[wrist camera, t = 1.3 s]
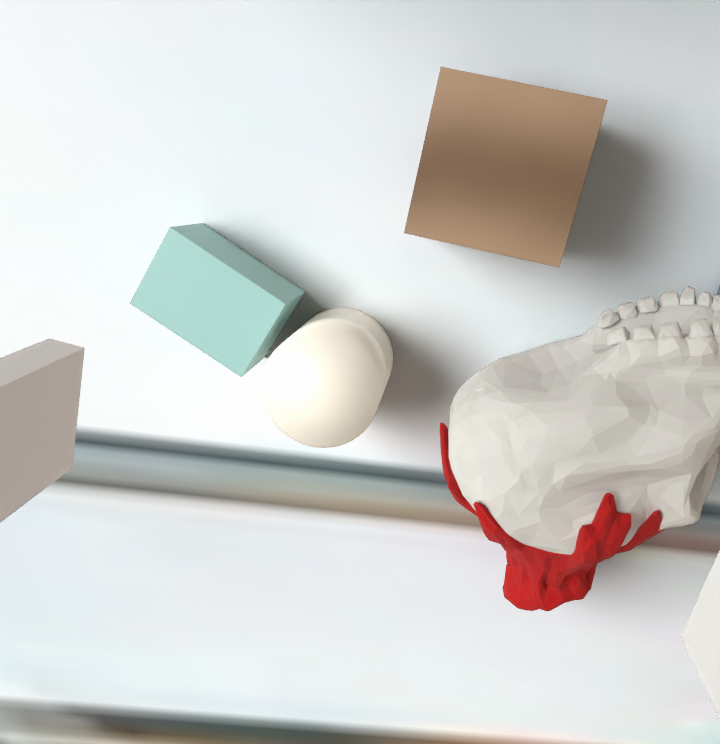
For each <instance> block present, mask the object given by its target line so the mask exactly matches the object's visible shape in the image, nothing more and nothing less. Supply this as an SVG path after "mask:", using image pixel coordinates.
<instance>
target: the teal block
mask: <svg viewBox="0 0 720 744" xmlns="http://www.w3.org/2000/svg"><path fill="white" fill-rule="evenodd" d="M304 293H305V291H304V290H302V289H301V288H299V287H298V286H296V285H295V284H293V283H292V282H290V281H289V280H287V279H286V278H284V277H283V276H281V275H280V274H278V273H277V272H275V271H274V270H272V269H271V268H269V267H268V266H266V265H265V264H263V263H262V262H260V261H258V260H257V259H255V258H254V257H252V256H251V255H249V254H248V253H246V252H245V251H243V250H242V249H240V248H239V247H237V246H236V245H234V244H233V243H231V242H230V241H228V240H227V239H225V238H224V237H222V236H221V235H219V234H218V233H216V232H215V231H213V230H212V229H210V228H209V227H207V226H206V225H204V224H203V223H201V224H193V225H185V226H177V227H170V228H169V230H168V232H167V234H166V236H165V238H164V240H163V242H162V243H161V245H160V247H159V249H158V251H157V253H156V255H155V257H154V259H153V260H152V262H151V264H150V266H149V268H148V270H147V272H146V274H145V276H144V277H143V279H142V281H141V283H140V285H139V287H138V289H137V291H136V292H135V294H134V296H133V298H132V300H131V302H130V304H132V305H133V306H135V307H136V308H138V309H139V310H141V311H142V312H144V313H145V314H147V315H148V316H150V317H151V318H153V319H154V320H156V321H157V322H159V323H160V324H162V325H163V326H165V327H166V328H168V329H169V330H171V331H172V332H174V333H176V334H177V335H179V336H180V337H182V338H183V339H185V340H186V341H188V342H189V343H191V344H192V345H194V346H195V347H197V348H198V349H200V350H201V351H203V352H204V353H206V354H207V355H209V356H210V357H212V358H213V359H215V360H216V361H218V362H219V363H221V364H222V365H224V366H225V367H227V368H228V369H230V370H231V371H233V372H234V373H236V374H238V375H239V376H241V377H242V376H243V375H244V374H245V373H247V372H248V371H249V370H250V369H251V368H252V367H254V366H255V365H256V364H257V363H258V362H260V361H261V360H262V359H263V358H264V357H265V356H266V355H267V353H268V351H269V350H270V348H271V346H272V345H273V343H274V342H275V340H276V338H277V337H278V335H279V333H280V332H281V330H282V329H283V327H284V325H285V324H286V322H287V321H288V319H289V317H290V316H291V314H292V312H293V311H294V309H295V308H296V306H297V304H298V303H299V301H300V300H301V298H302V296H303V295H304Z"/></svg>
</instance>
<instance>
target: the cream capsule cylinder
mask: <svg viewBox="0 0 720 744" xmlns="http://www.w3.org/2000/svg"><path fill="white" fill-rule="evenodd" d="M392 366H393V350H392V346H391V342H390V340H389V337H388V335H387V334H386V332H385V330H384V329H383V328H382V326H381V325H380V324H379V323H378V322H377V321H376V320H374V319H373V318H372V317H370V316H369V315H367V314H366V313H363V312H361V311H358V310H355V309H351V308H333V309H328V310H325V311H323V312H320V313H319V314H317V315H315V316H314V317H312V318H311V319H310V320H309V321H308V322H306V323H305V324H304V325H303V326H302V327H300V328H299V329H298V330H297V331H296V332H295V333H293V334H292V335H291V336H290V337H289V338H288V339H286V340H285V341H284V342H283V343H282V344H280V345H279V346H278V347H277V348H276V349H275V350H274V352H273V353H272V354H271V355H270V357H269V359H268V360H267V362H266V365H265V367H264V370H263V374H262V379H261V394H262V400H263V403H264V406H265V409H266V411H267V413H268V415H269V417H270V418H271V420H272V421H273V423H274V424H275V425H276V426H277V427H278V428H279V429H280V430H281V431H282V432H283V433H284V434H285V435H287V436H288V437H290V438H291V439H293V440H295V441H297V442H299V443H301V444H304V445H307V446H312V447H320V448H327V447H335V446H340V445H343V444H346V443H348V442H350V441H352V440H353V439H355V438H356V437H358V436H359V435H360V434H361V433H363V432H364V431H365V430H366V428H367V427H368V426H369V425H370V423H371V422H372V420H373V418H374V416H375V414H376V411H377V409H378V406H379V403H380V401H381V398H382V396H383V393H384V390H385V388H386V385H387V382H388V380H389V377H390V374H391V371H392Z"/></svg>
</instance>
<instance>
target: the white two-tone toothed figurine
mask: <svg viewBox="0 0 720 744" xmlns="http://www.w3.org/2000/svg"><path fill="white" fill-rule="evenodd" d="M440 441H441V455H442V465H443V471H444V475H445V479H446V481H447V484H448V488H449V490H450V492H451V493H452V495H453V497H454V498H455V500H456V501H457V502H458V503H459V504H461V505H462V506H464V507H465V508H466V509H468V510H469V511H471V512H472V513H473V514H475V515H476V516H478V518H479V521H480V524H481V526H482V529H483V532H484V534H485V535H486V537H487V538H488V540H490V541H493V542H496V543H499V544H501V545H502V547H503V548H504V550H505V551H506V558H507V563H508V564H507V565H506V572H505V580H504V585H503V592H504V597H505V598H506V599H507V600H509V601H510V602H511V603H512V604H513V605H515V606H516V607H517V608H519V609H523V610H530V611H534V610H537V609H542V610H545V611H550V610H552V609H554V608H556V607H558V606H559V605H561V604H563V603H565V602H569V601H573V600H580V599H583V598H584V597H585V595H586V594H587V593H588V591H589V590H590V589H591V585H592V581H593V577H594V573H595V569H596V565H597V563H599V562H601V561H603V560H604V559H608V558H610V557H612V556H614V555H615V554H616V553H621V552H625V551H629V550H631V549H632V548H634V547H635V546H637V545H639V544H641V543H642V542H644V541H646V540H647V539H649V538H651V537H653V536H654V535H656V534H658V533H660V532H661V531H663V530H664V529H665V528H671V527H680V526H685V525H689V524H693V523H695V522H697V521H698V520H699V519H700V514H701V510H702V506H703V504H704V502H705V500H706V498H707V496H708V494H709V492H710V490H711V487H712V484H713V481H714V478H715V474H716V470H717V465H718V460H719V453H718V451H717V448H718V447H719V446H720V295H714V298H713V299H712V296H711V294H710V293H708V292H702V293H701V294H700V296H699V299H698V303H697V304H696V298H695V289H694V288H692V287H690V286H688V287H686V288H685V289H684V290H683V291H682V293H681V297H680V301H679V298H678V293H676V292H672V291H667V292H665V293H664V294H663V295H661V298H660V300H659V303H658V305H657V303H656V301H655V299H654V298H652V297H648V298H643V299H640V300H639V301H638V302H637V303H636V308H635V306H634V304H633V303H631V302H627V303H624V304H621V305H620V306H619V307H618V308H617V309H616V311H615V312H614V311H613V310H612V309H608V310H605V311H604V312H603V313H602V314H601V315H599V316H598V319H597V322H596V325H595V326H593V327H592V328H591V329H590V330H588V331H587V332H586V333H585V334H583V335H581V336H577V337H573V338H569V339H565V340H561V341H557V342H553V343H549V344H546V345H543V346H540V347H537V348H534V349H531V350H527V351H524V352H520V353H517V354H513V355H510V356H506V357H503V358H499V359H498V360H496V361H495V362H493V363H491V364H490V365H488V366H487V367H485V368H484V369H482V370H480V371H479V372H477V373H476V374H474V375H473V376H472V377H471V378H469V379H468V380H467V381H466V382H465V383H463V384H462V385H461V386H460V388H459V389H458V391H457V393H456V394H455V396H454V398H453V400H452V403H451V406H450V422H449V431H448V428H447V427H446V425H445V424H444V423H440Z"/></svg>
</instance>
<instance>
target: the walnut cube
mask: <svg viewBox="0 0 720 744" xmlns="http://www.w3.org/2000/svg"><path fill="white" fill-rule="evenodd" d="M607 101H608V100H604V99H599V98H594V97H589V96H584V95H579V94H574V93H569V92H564V91H559V90H554V89H549V88H544V87H539V86H534V85H529V84H524V83H519V82H514V81H509V80H504V79H499V78H494V77H489V76H484V75H479V74H474V73H469V72H464V71H459V70H454V69H450V68H445V67H441V68H440V73H439V78H438V82H437V87H436V91H435V96H434V100H433V105H432V109H431V114H430V118H429V123H428V127H427V132H426V136H425V141H424V145H423V150H422V154H421V159H420V163H419V168H418V172H417V177H416V182H415V186H414V191H413V195H412V200H411V204H410V209H409V213H408V218H407V222H406V227H405V231H404V233H406V234H411V235H415V236H420V237H424V238H429V239H433V240H438V241H442V242H447V243H451V244H456V245H460V246H465V247H469V248H474V249H478V250H483V251H487V252H492V253H496V254H501V255H505V256H510V257H514V258H519V259H523V260H528V261H532V262H537V263H541V264H546V265H551V266H555V267H560V263H561V260H562V256H563V253H564V249H565V246H566V242H567V239H568V235H569V232H570V229H571V225H572V222H573V218H574V215H575V211H576V208H577V204H578V201H579V197H580V194H581V191H582V187H583V184H584V180H585V177H586V173H587V170H588V166H589V163H590V159H591V156H592V152H593V149H594V146H595V142H596V139H597V135H598V132H599V128H600V125H601V121H602V118H603V114H604V111H605V107H606V104H607Z"/></svg>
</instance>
